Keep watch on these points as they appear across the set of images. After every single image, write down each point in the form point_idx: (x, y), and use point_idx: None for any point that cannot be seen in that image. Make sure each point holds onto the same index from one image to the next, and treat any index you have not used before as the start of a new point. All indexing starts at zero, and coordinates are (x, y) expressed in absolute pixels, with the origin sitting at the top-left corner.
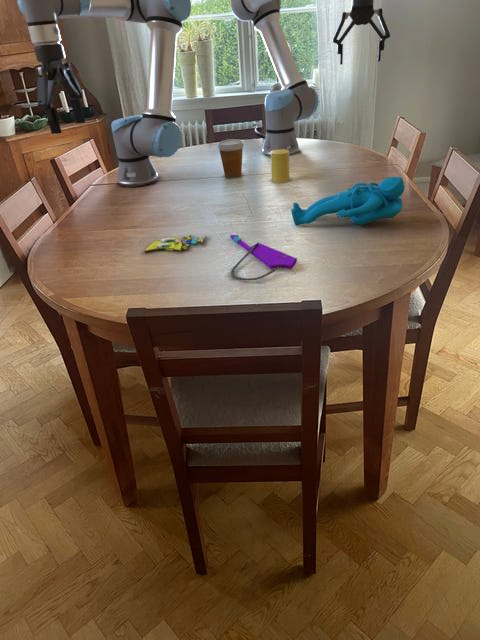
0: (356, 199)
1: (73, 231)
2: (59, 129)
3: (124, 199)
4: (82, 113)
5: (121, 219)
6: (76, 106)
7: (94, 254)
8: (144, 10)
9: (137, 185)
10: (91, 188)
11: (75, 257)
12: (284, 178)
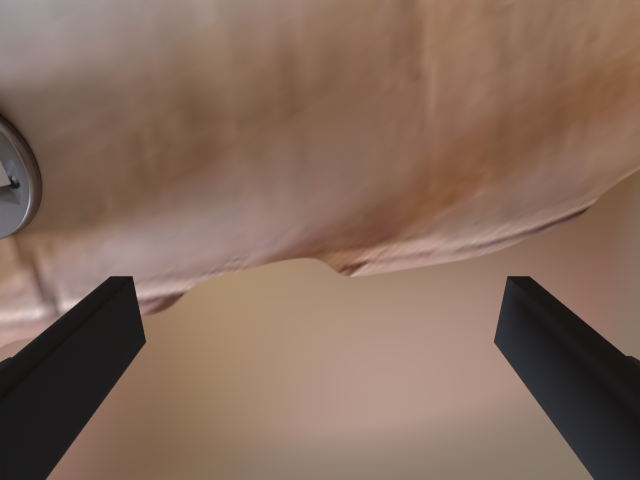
0: None
1: (425, 175)
2: (542, 291)
3: (155, 137)
4: (70, 319)
5: (334, 58)
6: (43, 411)
7: (606, 15)
8: None
9: (23, 144)
10: None
11: (614, 69)
12: None
